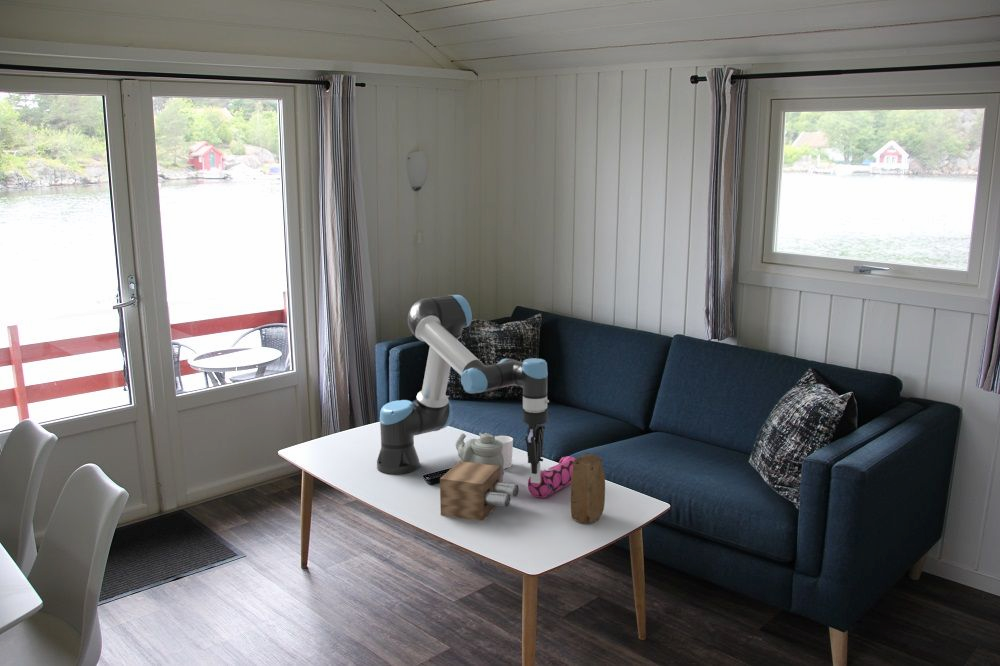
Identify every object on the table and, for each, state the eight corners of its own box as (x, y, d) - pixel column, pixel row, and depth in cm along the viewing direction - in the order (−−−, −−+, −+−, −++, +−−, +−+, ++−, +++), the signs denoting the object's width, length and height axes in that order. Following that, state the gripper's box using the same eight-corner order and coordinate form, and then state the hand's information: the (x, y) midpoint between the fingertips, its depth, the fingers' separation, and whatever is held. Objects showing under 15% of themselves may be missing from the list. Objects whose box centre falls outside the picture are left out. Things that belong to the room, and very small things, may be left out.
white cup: (513, 462, 314) (513, 435, 312) (512, 469, 306) (512, 443, 304) (492, 461, 314) (492, 435, 312) (490, 469, 307) (489, 442, 305)
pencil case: (551, 503, 277) (551, 474, 275) (526, 496, 283) (526, 468, 281) (583, 482, 295) (583, 454, 293) (558, 476, 300) (559, 449, 298)
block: (588, 527, 259) (589, 464, 255) (567, 520, 264) (568, 458, 260) (608, 515, 268) (609, 454, 263) (588, 509, 272) (589, 449, 268)
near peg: (463, 502, 268) (463, 491, 267) (468, 498, 271) (468, 486, 270) (506, 508, 263) (506, 497, 262) (510, 504, 266) (510, 492, 266)
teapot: (455, 476, 301) (454, 424, 297) (498, 473, 303) (498, 421, 299) (461, 494, 285) (460, 440, 281) (506, 490, 287) (506, 437, 283)
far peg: (473, 493, 275) (473, 482, 274) (477, 489, 278) (477, 477, 278) (514, 498, 270) (514, 487, 270) (518, 494, 274) (518, 483, 273)
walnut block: (440, 514, 269) (439, 478, 266) (459, 495, 283) (459, 461, 281) (482, 520, 264) (482, 484, 262) (500, 501, 279) (499, 466, 276)
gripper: (540, 416, 257) (541, 491, 261) (552, 404, 269) (552, 476, 273) (516, 414, 259) (517, 488, 264) (529, 402, 271) (530, 473, 276)
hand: (535, 482), depth 269 cm, fingers closed
